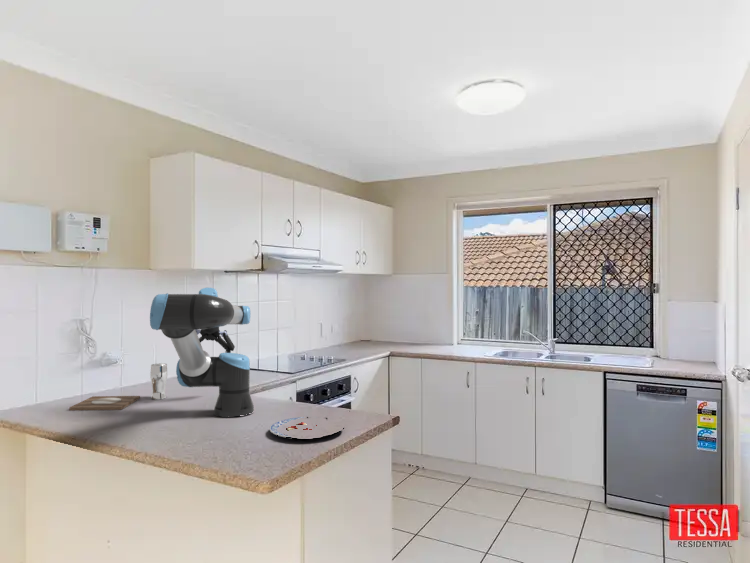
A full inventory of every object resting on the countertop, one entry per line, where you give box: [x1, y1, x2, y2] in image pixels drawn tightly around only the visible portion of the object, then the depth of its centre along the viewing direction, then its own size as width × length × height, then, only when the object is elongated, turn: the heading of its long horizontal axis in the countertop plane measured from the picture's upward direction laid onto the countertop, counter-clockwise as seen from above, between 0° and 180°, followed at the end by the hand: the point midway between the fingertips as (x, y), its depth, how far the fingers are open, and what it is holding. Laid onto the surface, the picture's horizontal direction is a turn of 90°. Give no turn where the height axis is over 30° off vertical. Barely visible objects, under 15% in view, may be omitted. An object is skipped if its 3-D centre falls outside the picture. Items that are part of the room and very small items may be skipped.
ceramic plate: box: [269, 416, 317, 438], centre depth 174 cm, size 26×26×3 cm
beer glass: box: [149, 362, 168, 401], centre depth 224 cm, size 7×7×15 cm
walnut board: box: [68, 395, 141, 411], centre depth 212 cm, size 20×20×2 cm
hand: (211, 360), depth 227 cm, fingers open, 13 cm apart
